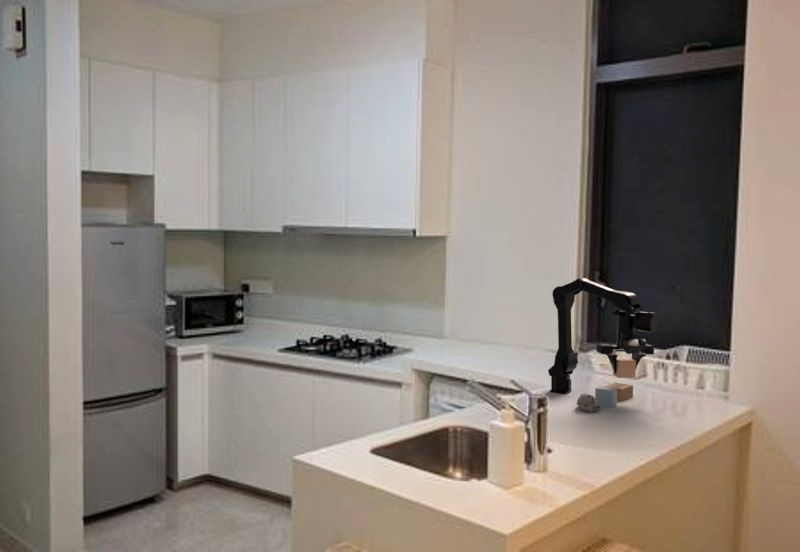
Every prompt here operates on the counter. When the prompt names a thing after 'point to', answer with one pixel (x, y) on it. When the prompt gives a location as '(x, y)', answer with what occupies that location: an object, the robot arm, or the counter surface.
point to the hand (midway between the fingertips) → (624, 373)
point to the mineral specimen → (588, 403)
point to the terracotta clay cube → (625, 368)
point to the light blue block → (606, 396)
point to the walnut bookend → (622, 391)
